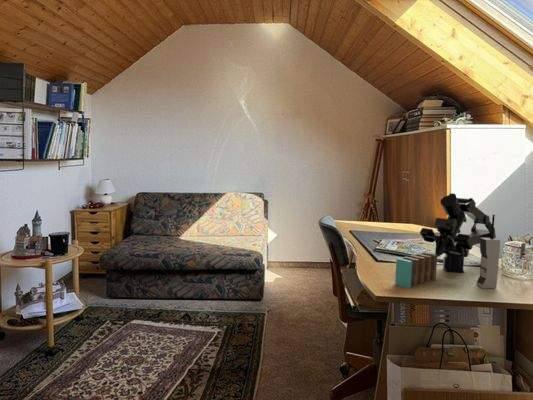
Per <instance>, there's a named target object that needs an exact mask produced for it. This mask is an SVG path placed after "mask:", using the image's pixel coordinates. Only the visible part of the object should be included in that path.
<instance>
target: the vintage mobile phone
mask: <svg viewBox="0 0 533 400" xmlns="http://www.w3.org/2000/svg"><path fill="white" fill-rule="evenodd" d="M495 217H496V215H495V214H492V219H491V220H492V221H491V224H492V228H491V236H490V238H480V244H479V252H480V264H479V266H480V268H479V277H478V278H477V280H476V282H475V283H476V286H477V287H480V288H481V289H496V288H497V286H498V285H497V283H498V277H499V276H498V274H499V262H500V261H499V260H500V252H501V251H500V248H501V240H500V239H498V238H496V239H495V238H494V237H493V235H494V228H495Z"/></svg>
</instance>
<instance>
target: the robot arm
mask: <svg viewBox="0 0 533 400" xmlns="http://www.w3.org/2000/svg"><path fill="white" fill-rule="evenodd" d="M439 203H440V205H441V207H442V209H443V211H444V213H445V215H447V218H443V217H436V218H435V221H434V224H433V227H436V228H437V229H436V230H437V231H436V232H434V229H432V228H428V227H422V228H421V230H420V231H419V234H420V236H421V238H422V239H423V241H425V242H428V243H434V242H435V253H434V254H435V255H437V258H439V257H440V256H442V255H443V254H444V256H443V257H442V258H443V261H442V268H443V269H444V271H446V272H450V273H451V272H453V273H465V270H464V263H465V258H468V256H469V254H470V253H469V252H470V250H472V249H473V246H476V245H480V238H490V236H491V228H492V221H490V219H491V218H490V216H489V215H487V214H485V213H484V212H483V211H482V210H480V209H479V207H477V206H476V205H477V202H475V200H474V198H473V197H466V196H465V197H463V196H457V195H456V193H452V192H451V193H449V194H448V195H446V196H443V197H442V198H441V199H440V201H439ZM466 216H467V217H469V218H470V219H471V220H472V221H473V223H474V224H473V225H472V227H471V229H470V234H467V233H466V234H465V233H461V228H462V225H463V224H464V223H467V221H468V220H467V217H466ZM478 224H479V225H484V226H485V228H486V229H487V230H486V229H481V228H479V229H478V228H477V225H478ZM493 237H494V238H495V239H497V238H496V229H495V227H494V235H493Z"/></svg>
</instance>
